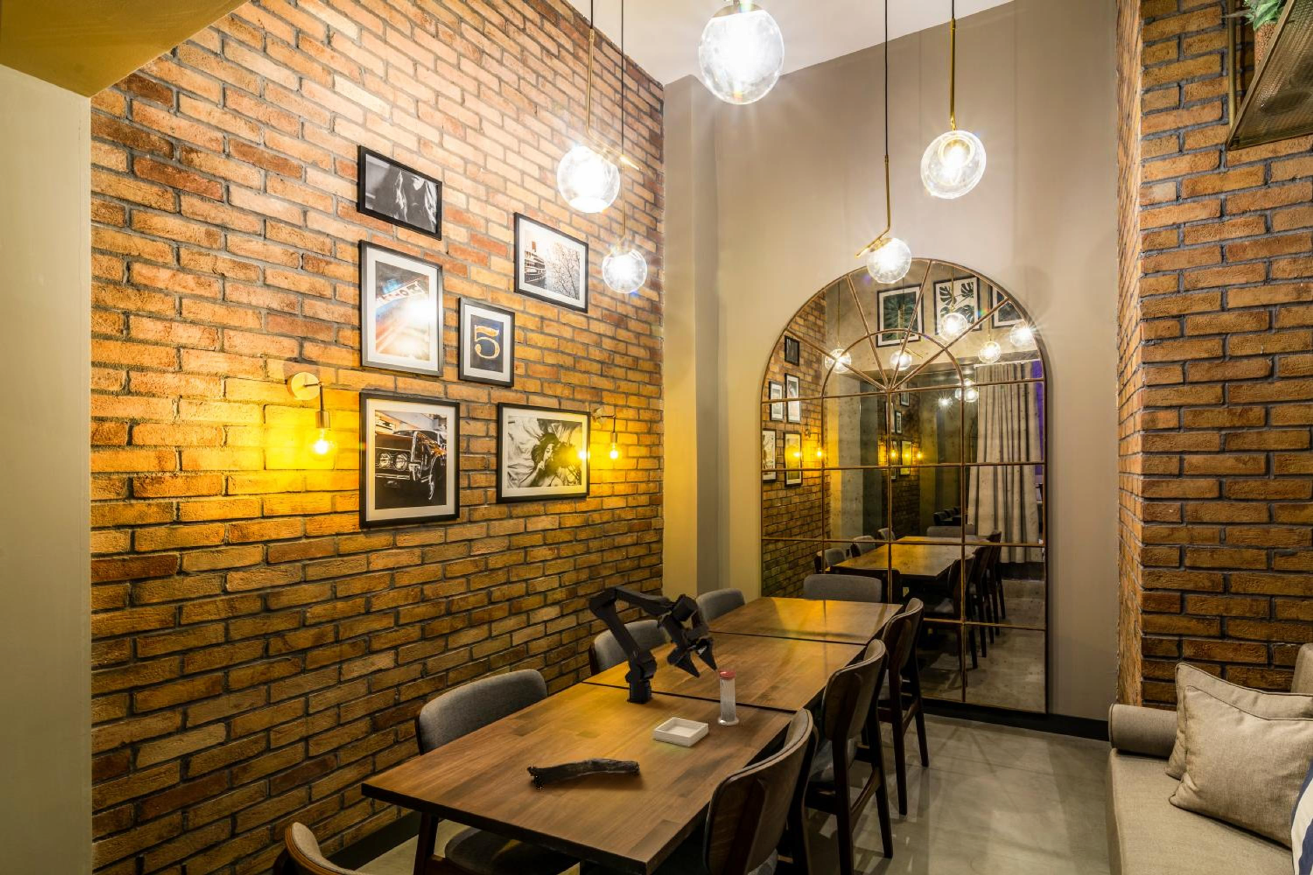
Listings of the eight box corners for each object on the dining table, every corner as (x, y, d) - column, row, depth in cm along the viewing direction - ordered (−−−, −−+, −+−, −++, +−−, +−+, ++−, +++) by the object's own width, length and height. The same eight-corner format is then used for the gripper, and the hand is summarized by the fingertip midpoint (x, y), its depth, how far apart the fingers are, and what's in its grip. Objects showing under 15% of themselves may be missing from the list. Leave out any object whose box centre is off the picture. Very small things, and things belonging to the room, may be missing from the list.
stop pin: (714, 723, 194) (713, 672, 195) (723, 717, 199) (722, 667, 200) (733, 727, 191) (732, 675, 192) (741, 720, 196) (740, 669, 197)
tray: (653, 739, 183) (653, 729, 183) (673, 725, 192) (673, 716, 193) (689, 746, 177) (689, 737, 177) (708, 732, 187) (708, 723, 187)
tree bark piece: (524, 797, 158) (521, 784, 151) (528, 759, 164) (527, 744, 157) (638, 800, 160) (642, 788, 153) (639, 763, 166) (642, 749, 159)
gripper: (674, 620, 197) (706, 664, 189) (708, 609, 212) (739, 650, 204) (653, 643, 201) (684, 687, 194) (689, 631, 216) (718, 672, 208)
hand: (707, 673), depth 200 cm, fingers open, 9 cm apart
